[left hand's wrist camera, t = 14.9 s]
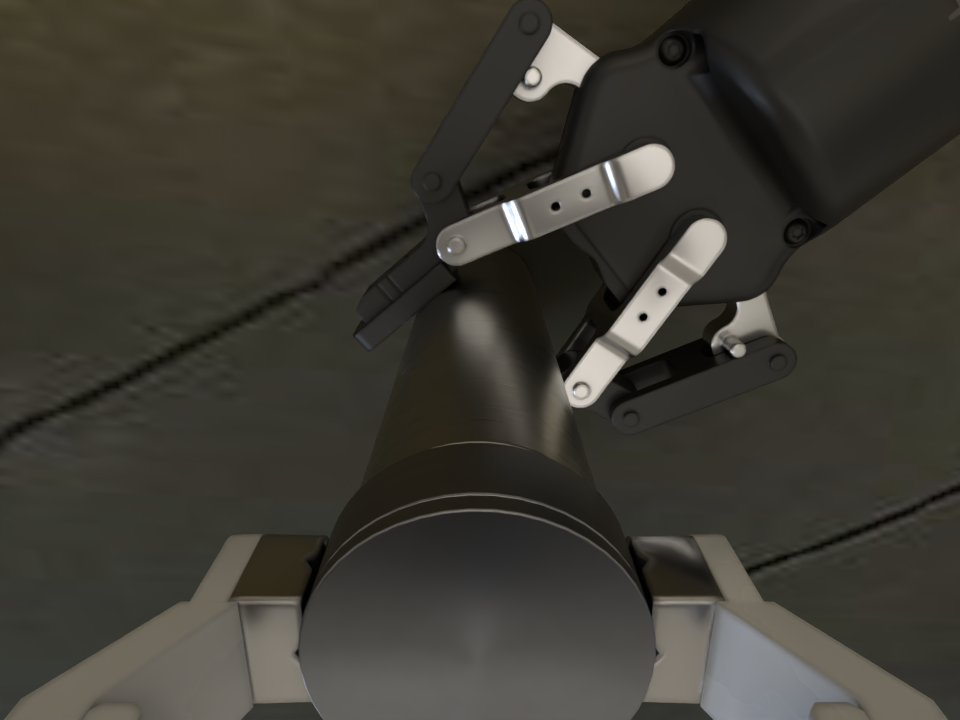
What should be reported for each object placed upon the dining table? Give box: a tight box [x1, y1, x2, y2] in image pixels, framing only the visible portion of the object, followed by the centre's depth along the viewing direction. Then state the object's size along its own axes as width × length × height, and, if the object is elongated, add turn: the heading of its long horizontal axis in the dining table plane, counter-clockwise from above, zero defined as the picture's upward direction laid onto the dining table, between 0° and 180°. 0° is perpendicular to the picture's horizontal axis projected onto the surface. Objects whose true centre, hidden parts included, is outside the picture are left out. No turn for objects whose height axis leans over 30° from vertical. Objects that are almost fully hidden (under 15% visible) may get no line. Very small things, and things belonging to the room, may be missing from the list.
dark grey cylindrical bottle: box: [361, 247, 597, 491], centre depth 18 cm, size 4×4×19 cm
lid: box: [298, 443, 656, 720], centre depth 10 cm, size 5×5×2 cm
